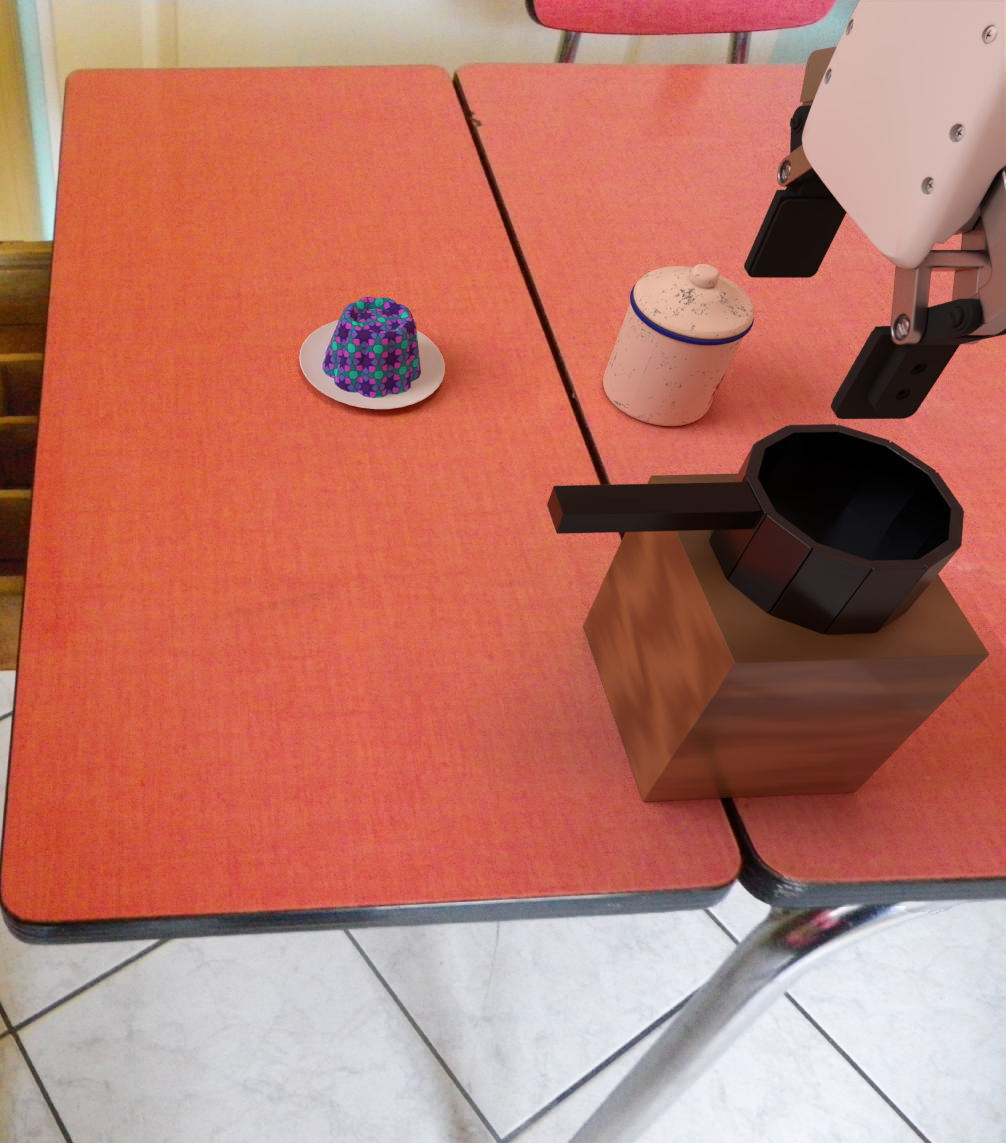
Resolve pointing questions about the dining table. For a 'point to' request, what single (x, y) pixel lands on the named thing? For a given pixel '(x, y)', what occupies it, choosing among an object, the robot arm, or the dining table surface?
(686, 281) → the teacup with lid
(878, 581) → the pan
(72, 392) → the dining table surface
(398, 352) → the pudding
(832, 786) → the wooden cube
